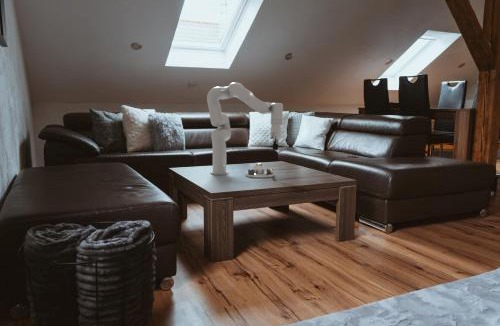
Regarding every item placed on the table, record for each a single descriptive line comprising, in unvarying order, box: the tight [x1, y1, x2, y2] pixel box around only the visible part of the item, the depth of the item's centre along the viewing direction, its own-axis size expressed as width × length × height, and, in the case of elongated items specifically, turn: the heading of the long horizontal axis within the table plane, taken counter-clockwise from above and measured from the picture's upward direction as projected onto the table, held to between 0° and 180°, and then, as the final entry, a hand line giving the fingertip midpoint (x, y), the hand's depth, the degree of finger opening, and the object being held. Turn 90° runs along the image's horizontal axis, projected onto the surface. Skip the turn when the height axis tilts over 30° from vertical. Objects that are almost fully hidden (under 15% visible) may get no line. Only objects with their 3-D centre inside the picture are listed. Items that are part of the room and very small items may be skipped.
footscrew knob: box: [266, 167, 274, 174], centre depth 270 cm, size 14×4×4 cm, turn 5°
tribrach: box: [244, 162, 275, 179], centre depth 277 cm, size 20×20×9 cm
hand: (275, 149), depth 267 cm, fingers closed
